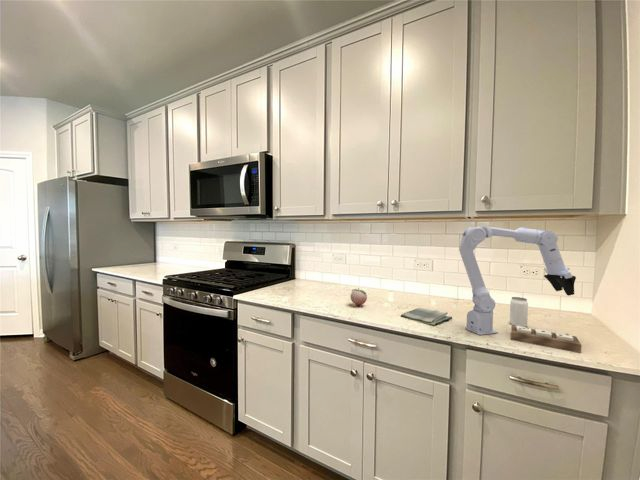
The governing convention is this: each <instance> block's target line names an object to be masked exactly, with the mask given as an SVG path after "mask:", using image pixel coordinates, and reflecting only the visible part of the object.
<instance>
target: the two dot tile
mask: <svg viewBox="0 0 640 480" xmlns="http://www.w3.org/2000/svg"><path fill="white" fill-rule="evenodd" d="M554 333H555V338H556V339H562V340H568V341H573V339H574V338H573V337H572V336H573V335H572V334H570V333H565V332H564V333H563V332H559V331H554Z"/></svg>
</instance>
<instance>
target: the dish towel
mask: <svg viewBox="0 0 640 480" xmlns="http://www.w3.org/2000/svg"><path fill="white" fill-rule="evenodd" d="M448 314H449V313H448V311H442V310H441V311H440V310H435V309H429V308H423V307H417V308H415V309H411V310H409V311H406V312H404V313H402V314H401V315H400V318H403V319H408V320H409V321H414V322H417V323H420V324H424V325H428V326H432V327H435V326H437V325H441V324H443V323H446V322H449V321H450V320H453V316H452V315H451V316H450V315H448Z"/></svg>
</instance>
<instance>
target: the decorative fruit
mask: <svg viewBox="0 0 640 480" xmlns="http://www.w3.org/2000/svg"><path fill="white" fill-rule="evenodd" d="M350 300H351V302H352V303H353V304H355V305H356V306H358V307H359V306H362V305H364V304H365V303H366V302H367V300H368V294H367V292H366V291H365V290H363V289H360V288H359V287H358V288H355V289H354V288H353V289H351V293H350Z"/></svg>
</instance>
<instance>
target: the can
mask: <svg viewBox="0 0 640 480" xmlns="http://www.w3.org/2000/svg"><path fill="white" fill-rule="evenodd" d="M509 303H510V304H509V323H510V325H511V326H523V327H528V315H529V314H528V313H529V302H528V299H527V298H525V297H518V296H512V297H511V299H510V302H509Z"/></svg>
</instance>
